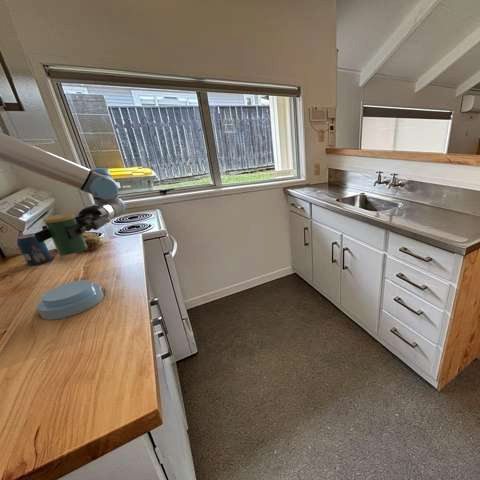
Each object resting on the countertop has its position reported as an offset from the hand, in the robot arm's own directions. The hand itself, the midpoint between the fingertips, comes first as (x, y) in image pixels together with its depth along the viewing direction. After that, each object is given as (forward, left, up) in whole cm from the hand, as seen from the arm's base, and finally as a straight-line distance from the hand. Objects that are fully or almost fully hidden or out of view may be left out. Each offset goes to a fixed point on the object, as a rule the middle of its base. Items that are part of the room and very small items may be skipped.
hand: (53, 236), depth 73 cm
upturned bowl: (-1, -5, -20) cm, 21 cm away
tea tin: (+2, +5, -6) cm, 8 cm away
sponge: (-5, +54, -20) cm, 58 cm away
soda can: (-17, +42, -20) cm, 50 cm away
